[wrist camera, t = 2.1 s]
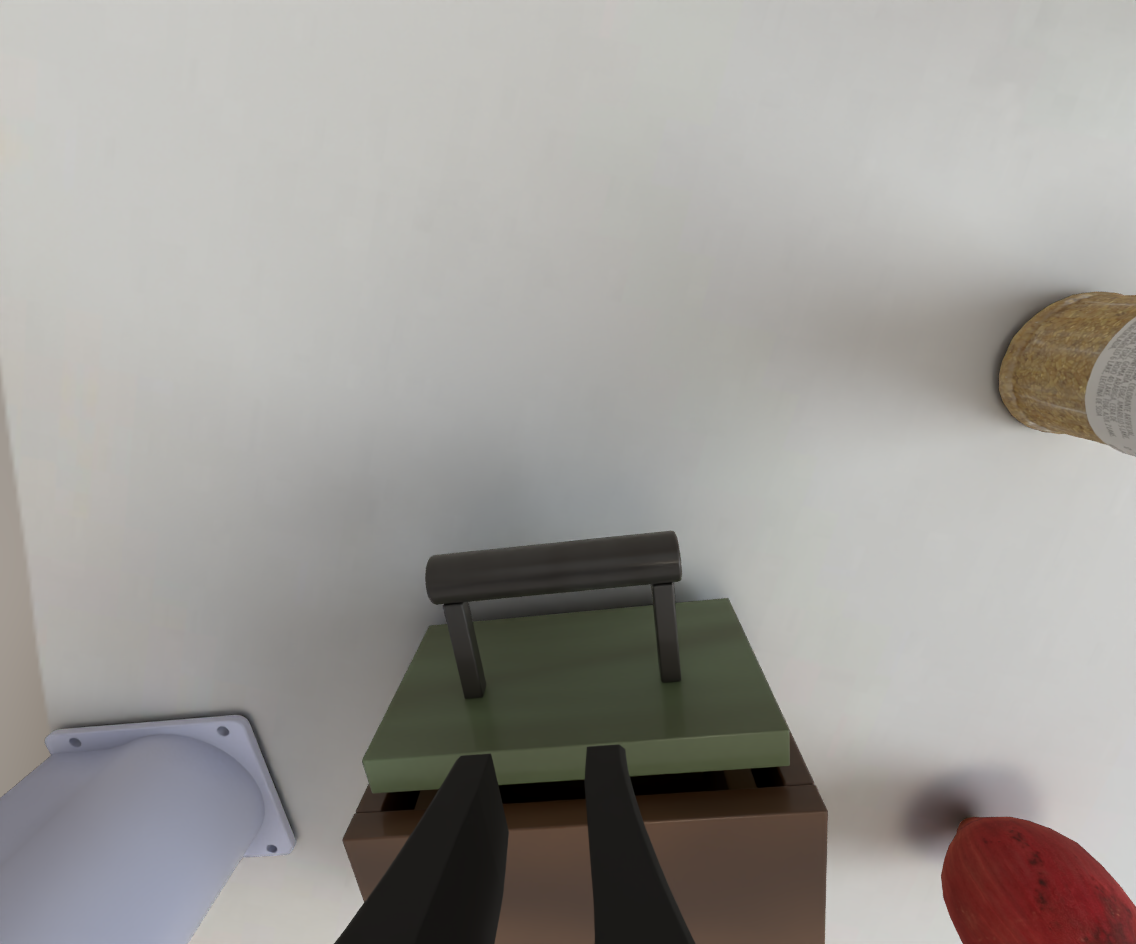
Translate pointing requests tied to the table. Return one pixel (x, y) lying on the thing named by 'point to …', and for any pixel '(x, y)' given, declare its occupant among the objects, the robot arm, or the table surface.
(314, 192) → the table surface
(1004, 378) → the sprinkles bottle
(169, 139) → the table surface
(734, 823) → the cabinet
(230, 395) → the table surface
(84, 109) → the table surface
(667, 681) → the drawer
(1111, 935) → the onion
